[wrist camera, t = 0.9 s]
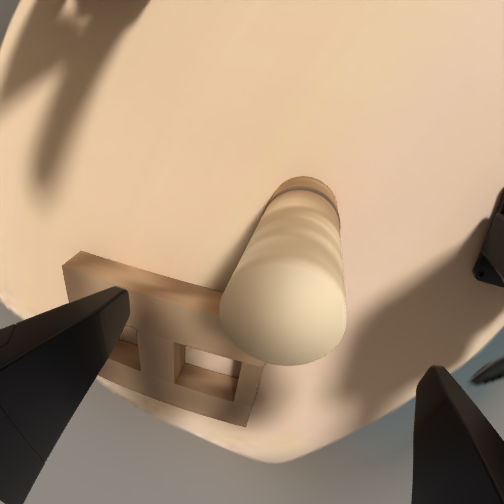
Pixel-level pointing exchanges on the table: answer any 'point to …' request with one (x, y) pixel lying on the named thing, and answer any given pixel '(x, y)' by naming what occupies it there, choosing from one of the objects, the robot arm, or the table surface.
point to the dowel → (289, 279)
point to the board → (169, 340)
